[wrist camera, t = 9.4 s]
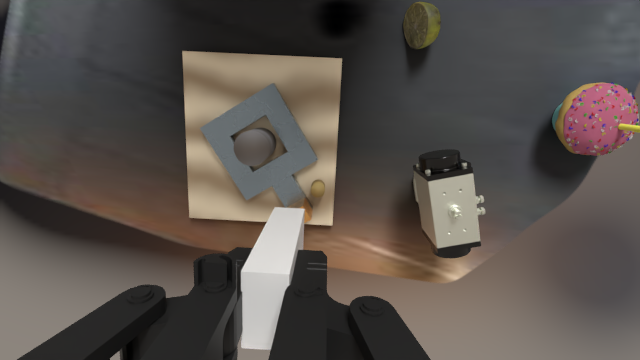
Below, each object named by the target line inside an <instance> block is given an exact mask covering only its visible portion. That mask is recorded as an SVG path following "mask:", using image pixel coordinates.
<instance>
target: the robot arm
mask: <svg viewBox="0 0 640 360" xmlns="http://www.w3.org/2000/svg"><path fill="white" fill-rule="evenodd" d="M304 214H305V209H300V208H282V207H275V208H274V209H273V211H272V213H271V215H270V217H269V219H268V221H267V223H266V225H265V227H264V228H263V230H262V232H261V234H260V236H259V238H258V240H257V242H256V244H255V246H254V247H253V248H241V247H237V248H235V249H233V250H232V251H230V252H229V253H228V254H210V255H205V256H202V257H200V258H198V259H196V260H195V261H194V284H195V285H194V287H193V289H192V290H191V291H190V293H189V294H188V295H186V296H180V297H172V298H166V294H165V290H164V289H163V288H162V287H160V286H157V285H140V286H137V287H134V288H130V289H128V290H127V291H125V292H123V293H121V294H119V295H118V296H116V297H115V298H113V299H111V300H110V301H108V302H107V303H105V304H104V305H102V306H101V307H99V308H97V309H96V310H94V311H93V312H91V313H89V314H88V315H87V316H85V317H83V318H82V319H80V320H78V321H77V322H75V323H74V324H72V325H71V326H69V327H68V328H66V329H65V330H63V331H61V332H60V333H58V334H56V335H55V336H53V337H52V338H50V339H49V340H47V341H46V342H44V343H42V344H41V345H39V346H38V347H36V348H34V349H33V350H31V351H30V352H28V353H27V354H25V355H23V356H22V357H20V358H19V359H17V360H110V358H111V357H112V356H113V355H114V354H115V353H117V352H118V351H120V360H237V344H238V342H239V339H240V336H241V348H248V349H264V350H271V351H270V356H269V360H430V358H429V357H428V355H427V354H426V352H425V351H424V350H423V348H422V347H421V345H420V344H419V343H418V341H417V340H416V338H415V337H414V335H413V334H412V333H411V331H410V330H409V329H408V327H407V326H406V324H405V323H404V321H403V320H402V319H401V317H400V316H399V314H398V313H397V312H396V310H395V309H394V307H393V306H392V305H391V304H390V303H389V302H387V301H385V300H383V299H381V298H378V297H374V296H362V297H358V298H356V299H354V300H353V301H352V302H351V304H350V306H347V305H344V304H341V303H338V302H336V301H334V300H333V299H332V298H331V297H329V295H328V294H327V256H326V255H325V254H324V253H323V252H322V251H312V250H303V240H304Z"/></svg>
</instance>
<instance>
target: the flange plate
mask: <svg viewBox="0 0 640 360" xmlns="http://www.w3.org/2000/svg"><path fill="white" fill-rule="evenodd" d="M264 116H267V118H268V119H269V121H270V123H271V124H272V126H273V128H274V129H275V131H276V133H277V134H278V136H279V138H280V139H281V141H282V143H283V144H284V146H285V148H286V149H287V152H286V153H284V154H282V155H281V156H279V157H277V158H275V159H274V160H272V161H270V162H269V163H267V164H265V165H263V166H262V167H260V168H258V169H257V170H254V169H253V167H252V166H248V165H245V164H243V163H241V162H240V161H239V160H238V159H237V157H236V156H235V153H234V142H235V138H234V137H233V135H234V134H236V133H237V132H239V131H241V130H242V129H244V128H246V127H247V126H249V125H251V124H252V123H254V122H256V121H257V120H259V119H261V118H262V117H264ZM200 130H201V131H202V133H203V134H204V136H205V137H206V139H207V140H208V142H209V143H210V145H211V147H212V148H213V150H214V151H215V153H216V154H217V156H218V157H219V159H220V160H221V162H222V163H223V165H224V167H225V168H226V170H227V171H228V173H229V174H230V176H231V177H232V179H233V180H234V182H235V184H236V185H237V187H238V188H239V190H240V191H241V193H242V194H243V196H244V197H245V199H246V200H248V199H250V198H252V197H253V196H255V195H257V194H259V193H260V192H262V191H264V190H266V189H267V188H269V187H271V186H272V187H273V189H274V190H275V192H276V193H277V195H278V197H279V198H280V200H281V201H282V203H283V205H284V206H285V208H300V209H305V214H304V223H306V222H308V221H310V220H311V218H312V211H313V206H312V205H311V203H310V201H309V200H308V198H307V196H306V195H305V193H304V191H303V190H302V188H301V186H300V185H299V183H298V181H297V180H296V178H295V177H294V175H293V174H294V173H296V172H297V171H299V170H301V169H303V168H304V167H306V166H308V165H310V164H311V163H313V162H315V161H317V160H318V157H317V155H316V154H315V152H314V150H313V149H312V147H311V145H310V143H309V142H308V140H307V138H306V137H305V135H304V133H303V131H302V130H301V128H300V126H299V125H298V123H297V121H296V119H295V118H294V116H293V114H292V113H291V111H290V109H289V108H288V106H287V104H286V102H285V101H284V99H283V97H282V96H281V94H280V92H279V90H278V89H277V87H276V85H275V84H274V83H272V84H270V85H269V86H267V87H265V88H264V89H262V90H261V91H259V92H257V93H256V94H254V95H252V96H251V97H249V98H248V99H246V100H244V101H243V102H241V103H240V104H238V105H236V106H235V107H233V108H231V109H230V110H228V111H227V112H225V113H223V114H222V115H220V116H219V117H217V118H215V119H214V120H212V121H210V122H209V123H207V124H206V125H204V126H202V127H201V128H200Z"/></svg>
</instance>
